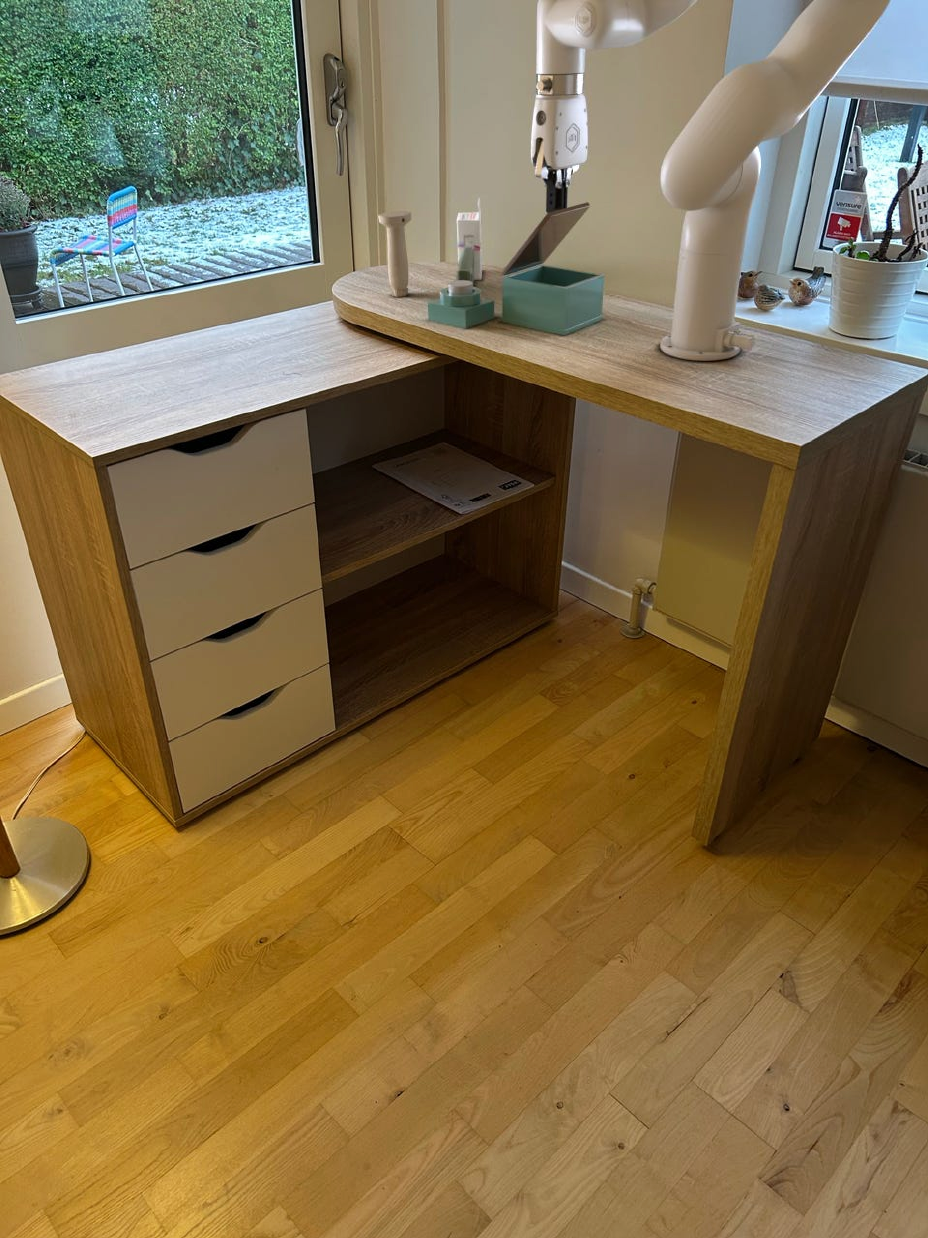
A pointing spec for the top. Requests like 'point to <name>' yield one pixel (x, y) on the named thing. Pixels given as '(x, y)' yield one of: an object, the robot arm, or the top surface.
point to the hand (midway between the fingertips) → (556, 212)
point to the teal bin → (552, 299)
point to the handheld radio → (466, 265)
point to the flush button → (460, 287)
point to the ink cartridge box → (471, 237)
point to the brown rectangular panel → (545, 238)
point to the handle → (397, 250)
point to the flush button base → (461, 309)
